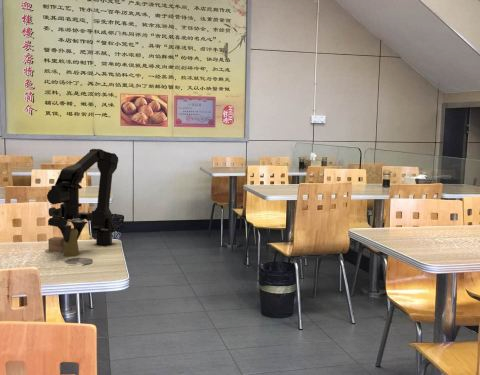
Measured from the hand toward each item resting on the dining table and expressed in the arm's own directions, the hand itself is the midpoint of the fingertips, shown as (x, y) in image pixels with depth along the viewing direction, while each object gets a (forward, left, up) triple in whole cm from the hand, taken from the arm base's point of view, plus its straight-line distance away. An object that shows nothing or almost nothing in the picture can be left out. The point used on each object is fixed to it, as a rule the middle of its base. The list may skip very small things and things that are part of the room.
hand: (71, 241), depth 206 cm
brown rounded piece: (0, 0, -6) cm, 6 cm away
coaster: (-3, -10, -6) cm, 12 cm away
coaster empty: (+6, +9, -6) cm, 12 cm away
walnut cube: (-3, -10, -5) cm, 12 cm away
